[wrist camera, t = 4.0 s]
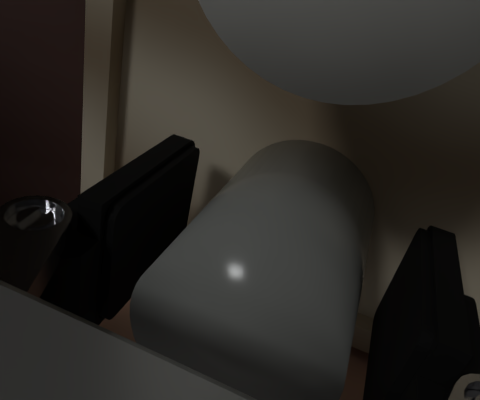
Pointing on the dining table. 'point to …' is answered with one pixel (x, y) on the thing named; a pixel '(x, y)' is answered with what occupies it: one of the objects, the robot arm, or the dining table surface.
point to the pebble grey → (351, 44)
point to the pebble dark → (266, 277)
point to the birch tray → (279, 131)
